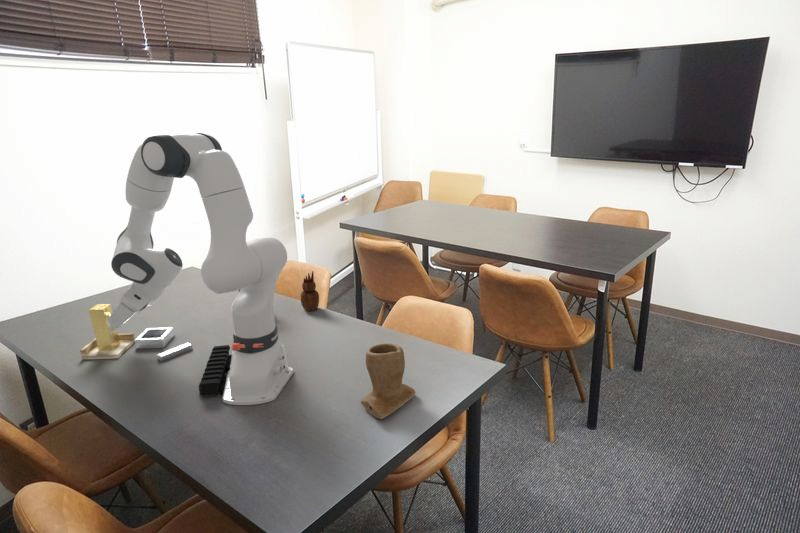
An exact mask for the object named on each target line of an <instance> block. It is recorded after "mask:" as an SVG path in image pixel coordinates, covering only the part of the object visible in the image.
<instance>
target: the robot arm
mask: <svg viewBox="0 0 800 533" xmlns="http://www.w3.org/2000/svg"><path fill="white" fill-rule="evenodd" d="M185 176H186V177H190V178H191V179H193V180H194V181H195V183H196V185H197V187H198V190H199V194H200V198H201V200H202V204H203V206H204V209H205V210H204V211H205V214H206V216H207V219H208V224H209V229H210V244H209V250H208V252H207V255H206V257H205V259H204V260H203V262H202V264H201V269H200V277H201V279H202V282H203V283H204V286H205V287H206V288H207V289H208V290H209V291H211V292H213V293H214V294H216V295H217V294H218V295H220V294H228V293H233V292H238V290H240V292H238V293H239V294H237V295H236V298H234V300H233V301H232V304H231V309H230V311H231V316H232V318H231V319H232V324H233V325H232V326H233V334H232V344H231V351H232V352H231V355H232V358H231V365H230V370H229V371H228V372H226V373H227V374H226V376H227V378H226V383H225V388H224V393H223V395H222V403H225V404H227V405H232V406H253V405H260V404H261V405H262V404H265V403H269V402H272V401H274V400H276V399H277V397H278V396H279V395H280V393H281V391H282V390H283V389H284V387H285V386H286V384H287V383H288V381H289V380H290V379H291V377H292V375H294V368H293V367H291V366H288V360H287V355H286V349H285V346H284V344H282V343H281V342H280V341H279V331H278V330H279V329H278V326H277V325H276V321H275V319H276V318H275V312H274V310H275V309H274V308H275V307H274V299H275V292H276V288H277V283H278V280H279V277H280V274H281V273H282V271H283V269H284V268H285V266H286V264H287V262H288V252H287V248H286V247H285V246H284V244H283V243H282V241H280V240H279V239H277V238H275V237H261V238H256V239H253V240H250V241H247V230H248V227H249V226H250V224H251V223H252V221H253V220H254V213H253V210H252V206H251V203H250V199H249V197H248V194H247V191H246V188H245V185H244V181H243V178H242V177H241V174H240V172H239V170H238V167H237V165H236V163H235V161H234V159H233V158H232V156H231V155H230V154H229V153H228V152H227V151H225V150H223V148H222V146H221V144H220V142H219V141H218V140H217V139H216V138H215V137H214V136H213V135H209V134H206V133H202V132H197V133H194V132H186V131H185V132H184V131H177V132H168V133H163V132H161V133H156V134H153V135H151V136H149V137H146V138H145V139H144V141H143V143H142V144H140V145H139V146H138V147H137V148H136V151H135V153H134V155H133V157H132V160H131V163H130V166H129V169H128V172H127V177H126V180H125V181H126V182H125V201H126V203H128V204H129V206H130V207H131V209H130V215H129V218H128V222H127V225H126V227H125V228H124V230H123V231H122V232H120V234H119V236H118V237H117V239H116V246H115V250H114V253H113V255H112V259H111V264H110V265H111V269H112V271H113V272H114V274H116V275H117V276H118V277H119V278H123V279H125V280H128V281H129V282H132V283H131V284H130V285H129V286H128V288H127V290H126V292H125V293H124V294H122V295H121V297H120V298H119V301H120V302H119V303H118V304H117V305H116V307H115V308H114V310H112V311H113V312H112V314H111V315H110V317H109V319H108V323H109V324H110V326H109V327H108V329H109V330H110V331H112V332H113V331H114V330H115V329H120V328H121V327H122V326H123V325H124V324H125V323H126V322H127V321H128V320H129V319H131V318H132V317H133V316H134V315H136V314H138V313H141V311H143V310H144V309H146V308H149V307H153V306H154V305H155V304H156V303H158V300H159V299H160V298H161V297H162V296H163V295H164V293H165V292H166V289H167V288H169V287H170V286H171V285H172V284H173V282H175V280H176V279H177V277H178V276H179V275H180V273H181V271H182V269H183V260H182V258H181V256H180V255H179V254H178V253H177V252H176V251H175V250H173V249H171V248H168V247H167V248H166V247H165V248H161V249H160V248H159V249H156V248H154V245H155V244H154V240H153V239H154V238H153V236H152V230H151V229H152V226H153V222H154V218H155V214H156V212H159V211H161V210H163V209H164V208H165V206H166V204H167V202H168V200H169V198H170V195H171V191H172V188H173V183H174V179H175V178H176V179H177V178H178V179H182V178H184V177H185Z"/></svg>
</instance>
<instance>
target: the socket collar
mask: <svg viewBox="0 0 800 533" xmlns="http://www.w3.org/2000/svg"><path fill="white" fill-rule="evenodd" d="M175 335H176V333H175V330H174V327H173V326H172V327H171V326H168V327H147V328H145V330H143V332H141V333H140V334H139V335H138V336H137V337H136V338H135V343H134V345H135V349H160V348H162V349H163V348H165V347H166V346H167V345H168V344H169V343H170V342H171V340H172V339H173V338H174V337H175Z"/></svg>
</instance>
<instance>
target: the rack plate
mask: <svg viewBox="0 0 800 533" xmlns="http://www.w3.org/2000/svg"><path fill="white" fill-rule="evenodd" d="M118 337H119V342H120V344H119V345H118V346H117V347H116V348H114V349H113V350H100V351H99V350H98V346H97V342H96V338H95V337H94V338H93V339H92V340H91V341H89V343H87V344H86V345H85V346H83V347H82V348H81V349H80V355H81V359H82V360H109V359H119V358H120V357H121V356H122V355H123V354H124V353H126V352H127V351H128V349H129V348H131V347H132V346H133V345H135V339H136V338H135V333H134V332H124V333H123V332H122V333H118Z"/></svg>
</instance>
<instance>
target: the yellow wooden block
mask: <svg viewBox="0 0 800 533" xmlns="http://www.w3.org/2000/svg"><path fill="white" fill-rule="evenodd" d="M113 311H114V310H113V307H112V304H111V303H99V304H98V303H96V304H95V305H94V306H92V307H90V308H89V309H88V314H89V317H90V321H91V325H92V329H93V334H94V339H95V338H96V342H97V346H98V350H99V351H100V350H113V349H114V348H116V347H117V346H118V345H119V344H120V342H119V337H118V334H119V333H118V328H116V329H115V330H114V331H113V332H112V331H110V330H109V329H108V327H109V326H110V324H109V323H108V319H109V317H110V315H111V314H112V312H113Z"/></svg>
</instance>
